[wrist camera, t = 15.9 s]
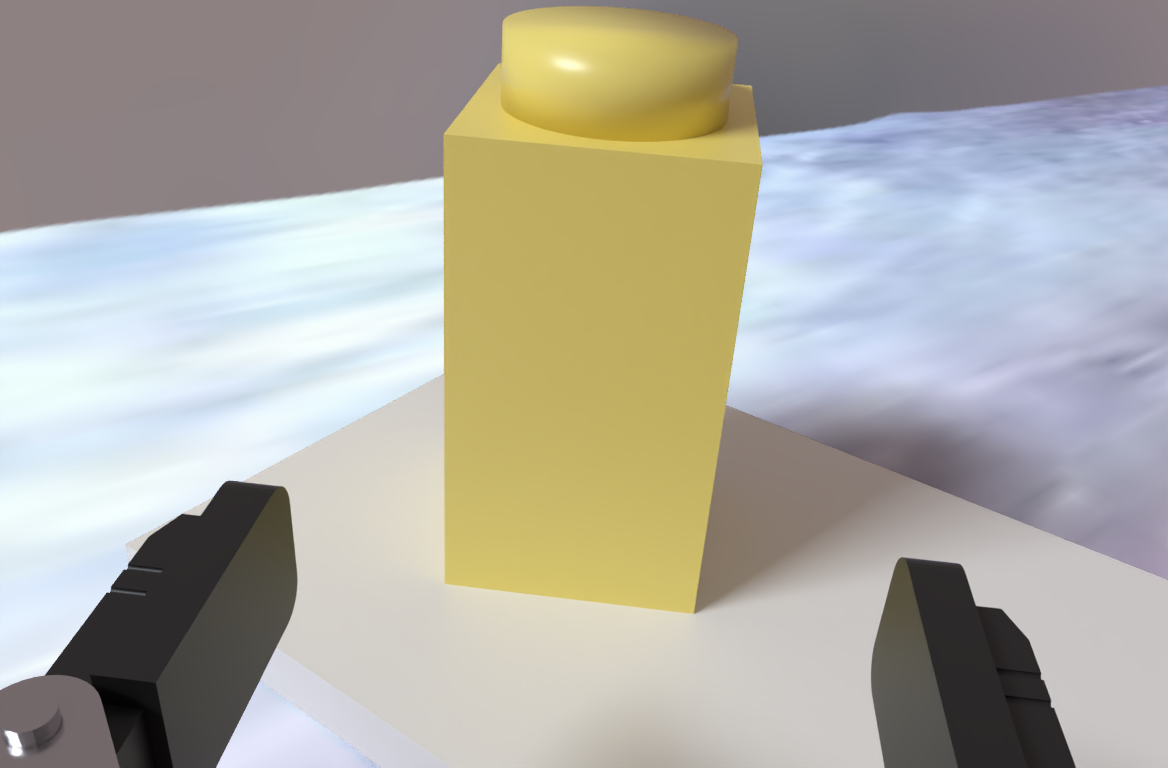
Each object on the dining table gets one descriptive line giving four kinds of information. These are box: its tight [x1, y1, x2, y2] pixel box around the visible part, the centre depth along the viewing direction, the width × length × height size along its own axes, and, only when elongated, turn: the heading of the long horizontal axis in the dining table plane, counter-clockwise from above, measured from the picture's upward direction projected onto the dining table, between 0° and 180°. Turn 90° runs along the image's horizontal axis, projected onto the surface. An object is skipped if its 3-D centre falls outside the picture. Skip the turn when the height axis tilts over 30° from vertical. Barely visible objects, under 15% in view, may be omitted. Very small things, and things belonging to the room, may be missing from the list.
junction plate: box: [125, 374, 1168, 768], centre depth 24 cm, size 16×26×8 cm, turn 54°
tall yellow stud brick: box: [444, 6, 763, 614], centre depth 25 cm, size 6×6×13 cm
